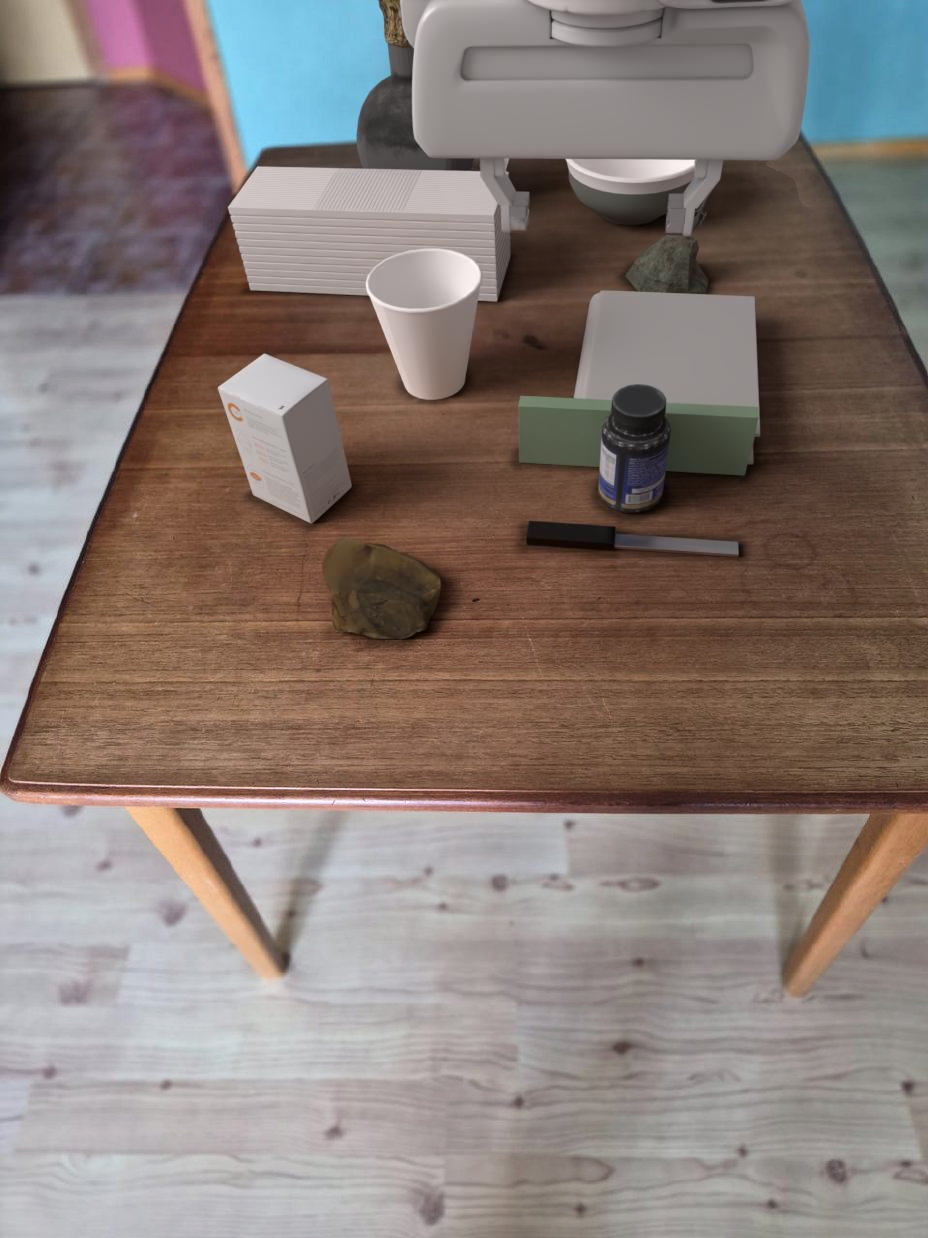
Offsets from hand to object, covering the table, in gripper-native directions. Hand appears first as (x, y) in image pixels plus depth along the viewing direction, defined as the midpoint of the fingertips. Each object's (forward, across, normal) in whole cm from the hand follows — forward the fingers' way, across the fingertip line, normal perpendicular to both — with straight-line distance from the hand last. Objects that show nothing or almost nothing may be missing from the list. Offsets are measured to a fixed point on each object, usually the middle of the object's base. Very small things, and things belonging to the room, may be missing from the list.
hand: (595, 230), depth 52 cm
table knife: (+33, +4, +7) cm, 34 cm away
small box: (+33, -28, +11) cm, 45 cm away
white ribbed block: (+33, -29, +52) cm, 68 cm away
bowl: (+33, +2, +70) cm, 77 cm away
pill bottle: (+33, +4, +14) cm, 36 cm away
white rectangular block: (+33, +7, +31) cm, 46 cm away
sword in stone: (+33, +7, +52) cm, 62 cm away
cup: (+33, -18, +30) cm, 48 cm away
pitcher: (+33, -25, +69) cm, 81 cm away
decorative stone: (+33, -17, -2) cm, 37 cm away
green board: (+33, +4, +18) cm, 38 cm away
